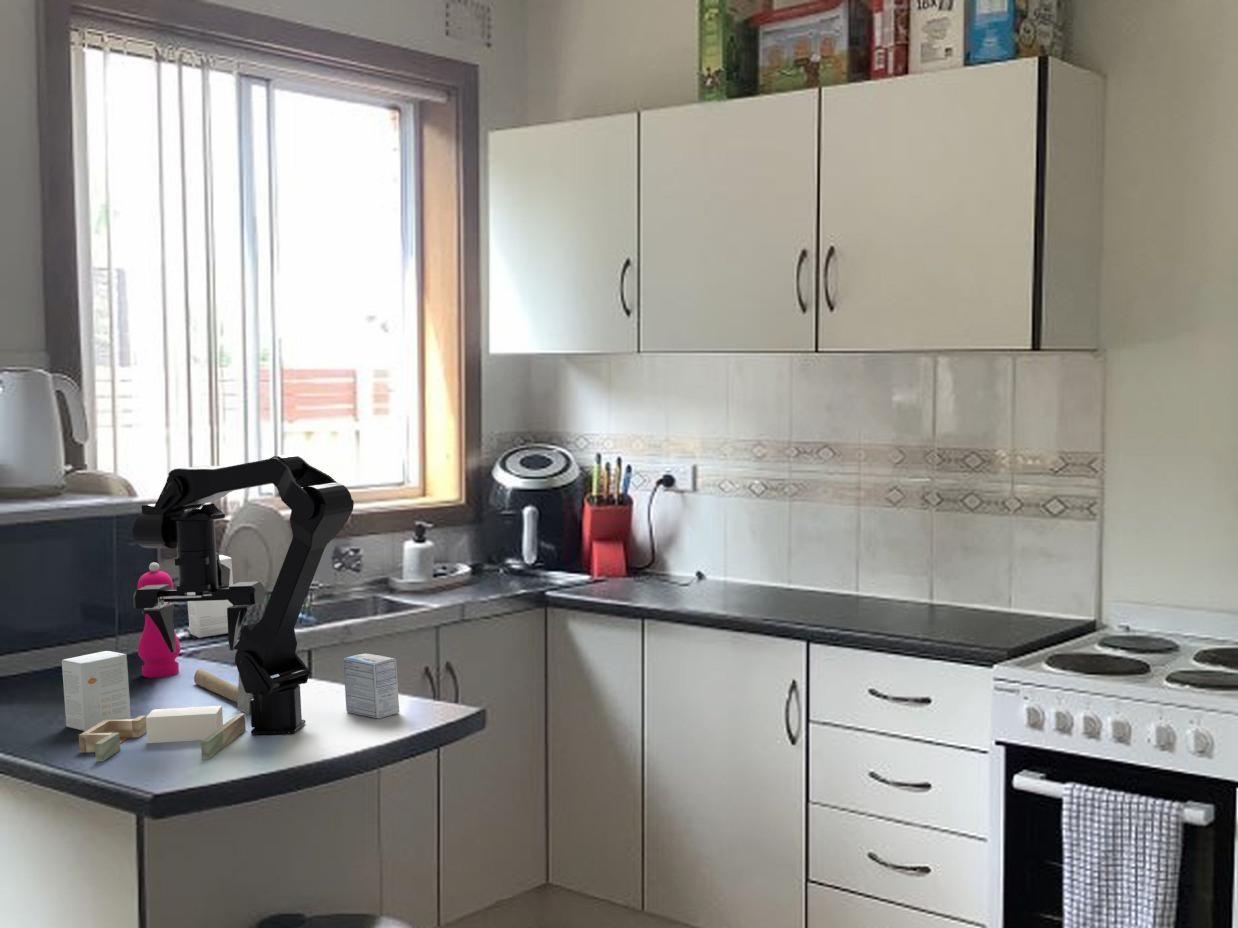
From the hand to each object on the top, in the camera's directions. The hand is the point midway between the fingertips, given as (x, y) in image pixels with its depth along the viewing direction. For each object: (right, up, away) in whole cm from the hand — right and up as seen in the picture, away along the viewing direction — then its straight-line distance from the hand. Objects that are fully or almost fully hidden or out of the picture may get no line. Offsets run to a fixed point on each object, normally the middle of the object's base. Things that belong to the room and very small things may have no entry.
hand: (202, 651), depth 226 cm
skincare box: (-20, -6, +77) cm, 80 cm away
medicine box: (+26, -10, +2) cm, 28 cm away
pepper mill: (-18, -9, +38) cm, 43 cm away
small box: (-17, -12, +2) cm, 20 cm away
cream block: (0, -12, -8) cm, 14 cm away
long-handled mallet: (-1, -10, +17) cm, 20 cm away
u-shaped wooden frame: (-3, -12, -13) cm, 18 cm away
